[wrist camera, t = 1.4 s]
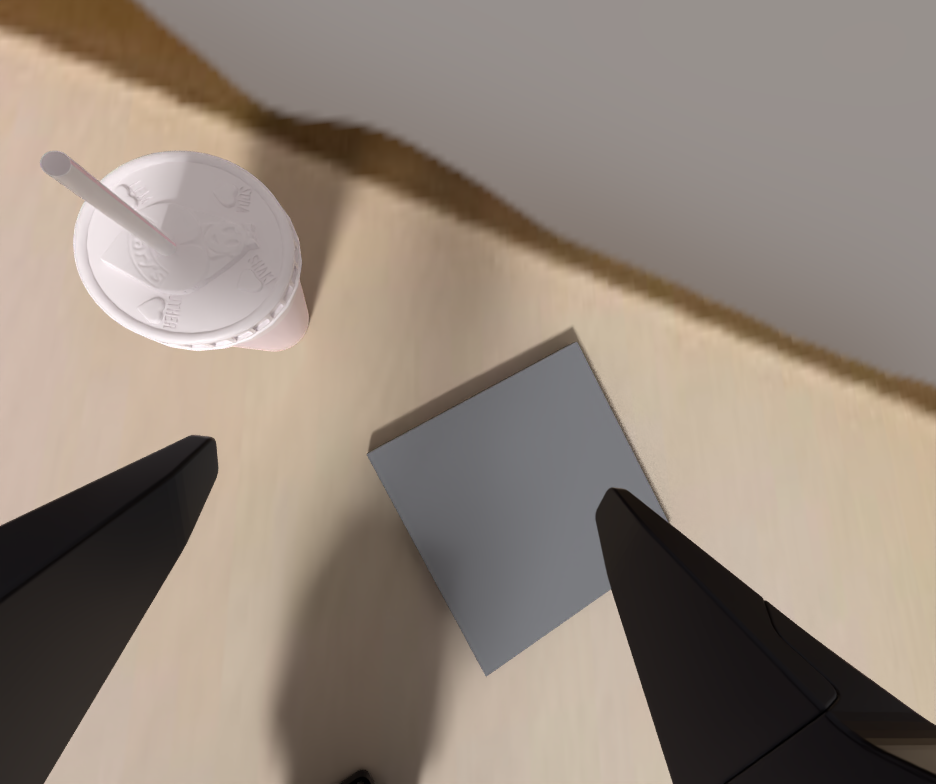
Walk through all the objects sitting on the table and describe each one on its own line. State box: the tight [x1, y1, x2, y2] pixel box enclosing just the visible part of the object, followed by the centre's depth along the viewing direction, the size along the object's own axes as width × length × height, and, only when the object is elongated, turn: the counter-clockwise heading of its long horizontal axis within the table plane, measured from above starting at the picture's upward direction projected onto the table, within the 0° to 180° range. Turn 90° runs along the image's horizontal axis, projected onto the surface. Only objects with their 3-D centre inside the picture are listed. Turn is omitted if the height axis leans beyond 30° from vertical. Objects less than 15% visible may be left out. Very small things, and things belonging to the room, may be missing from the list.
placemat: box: [367, 342, 669, 676], centre depth 24 cm, size 14×14×1 cm
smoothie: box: [40, 151, 309, 351], centre depth 15 cm, size 6×6×14 cm
